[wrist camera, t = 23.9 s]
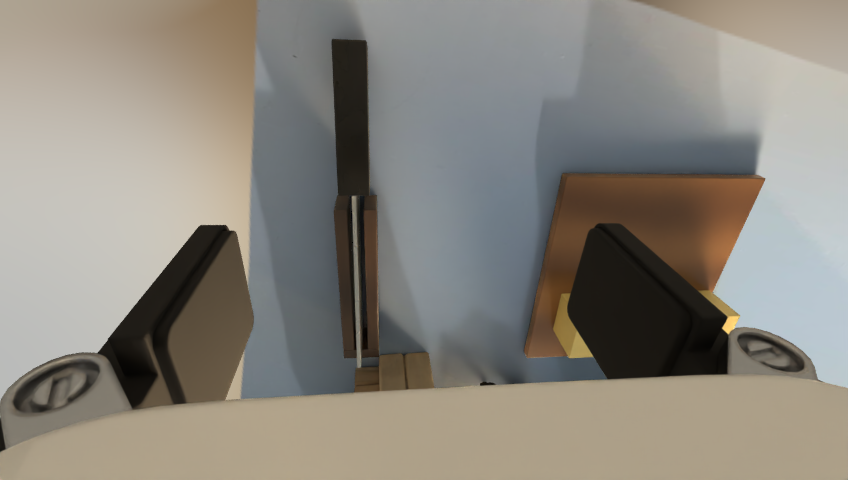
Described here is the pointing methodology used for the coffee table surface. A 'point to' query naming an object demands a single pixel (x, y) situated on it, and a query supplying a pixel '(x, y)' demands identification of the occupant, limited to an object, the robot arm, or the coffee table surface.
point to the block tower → (396, 373)
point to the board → (640, 231)
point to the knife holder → (347, 276)
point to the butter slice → (569, 332)
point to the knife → (352, 145)
